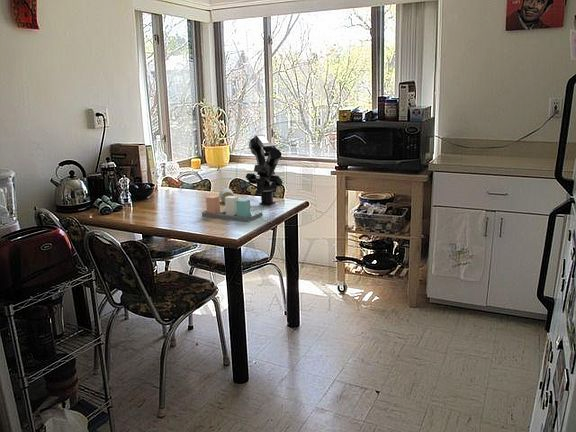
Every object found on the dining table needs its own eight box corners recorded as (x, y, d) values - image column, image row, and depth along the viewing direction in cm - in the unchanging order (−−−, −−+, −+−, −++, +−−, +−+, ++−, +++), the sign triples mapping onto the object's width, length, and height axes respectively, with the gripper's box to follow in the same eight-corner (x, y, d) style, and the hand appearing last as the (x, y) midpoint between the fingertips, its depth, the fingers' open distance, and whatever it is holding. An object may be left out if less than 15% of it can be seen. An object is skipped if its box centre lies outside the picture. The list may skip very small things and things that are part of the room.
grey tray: (217, 210, 253) (217, 205, 252) (267, 217, 238) (266, 211, 237) (199, 217, 242) (198, 212, 241) (249, 224, 226) (249, 218, 226)
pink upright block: (212, 213, 244) (211, 195, 242) (220, 214, 242) (219, 196, 239) (207, 215, 241) (205, 197, 239) (215, 216, 238) (213, 198, 236)
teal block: (242, 217, 235) (241, 198, 233) (251, 218, 233) (249, 199, 230) (237, 219, 232) (236, 200, 230) (245, 220, 229) (244, 201, 227)
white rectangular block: (231, 213, 242) (230, 195, 240) (239, 214, 240) (238, 196, 237) (226, 215, 239) (224, 197, 237) (234, 216, 237) (233, 198, 234)
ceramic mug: (221, 205, 264) (220, 191, 262) (219, 202, 272) (218, 188, 270) (241, 204, 267) (240, 190, 265) (238, 200, 274) (238, 187, 272)
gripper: (246, 156, 245) (234, 183, 239) (278, 158, 235) (266, 186, 229) (256, 170, 253) (244, 195, 247) (287, 172, 243) (276, 199, 237)
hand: (257, 194), depth 240 cm, fingers closed
